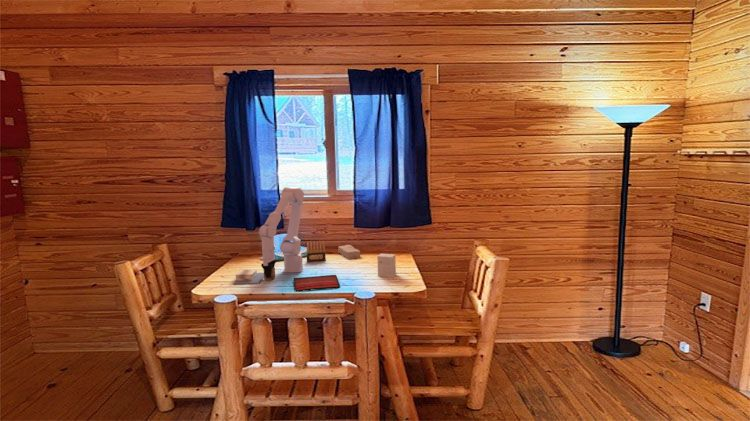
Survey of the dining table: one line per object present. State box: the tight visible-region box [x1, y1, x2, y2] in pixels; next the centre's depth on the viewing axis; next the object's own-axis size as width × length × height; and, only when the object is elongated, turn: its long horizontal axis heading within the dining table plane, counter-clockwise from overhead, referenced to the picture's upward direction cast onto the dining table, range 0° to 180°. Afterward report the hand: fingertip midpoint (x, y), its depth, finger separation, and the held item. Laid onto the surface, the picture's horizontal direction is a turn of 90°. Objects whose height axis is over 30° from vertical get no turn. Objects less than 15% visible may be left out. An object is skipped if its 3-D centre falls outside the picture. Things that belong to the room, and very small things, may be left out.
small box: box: [377, 253, 397, 278], centre depth 210 cm, size 8×6×10 cm
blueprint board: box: [232, 269, 264, 285], centre depth 207 cm, size 12×16×4 cm
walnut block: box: [263, 267, 276, 281], centre depth 207 cm, size 4×4×5 cm
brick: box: [337, 244, 361, 260], centre depth 250 cm, size 17×8×5 cm, turn 26°
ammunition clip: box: [306, 240, 327, 263], centre depth 238 cm, size 11×2×12 cm, turn 105°
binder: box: [293, 274, 341, 292], centre depth 198 cm, size 16×2×21 cm
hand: (269, 275), depth 207 cm, fingers closed on walnut block, 4 cm apart
